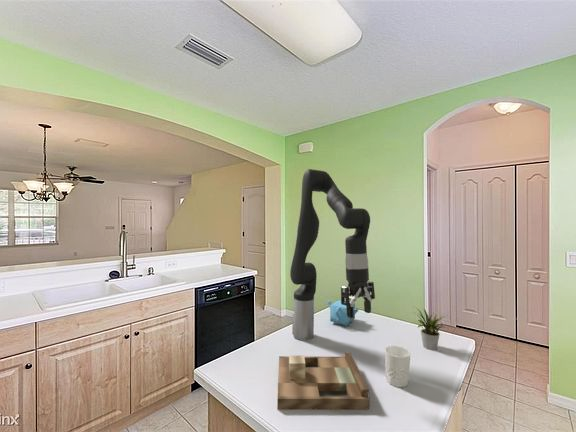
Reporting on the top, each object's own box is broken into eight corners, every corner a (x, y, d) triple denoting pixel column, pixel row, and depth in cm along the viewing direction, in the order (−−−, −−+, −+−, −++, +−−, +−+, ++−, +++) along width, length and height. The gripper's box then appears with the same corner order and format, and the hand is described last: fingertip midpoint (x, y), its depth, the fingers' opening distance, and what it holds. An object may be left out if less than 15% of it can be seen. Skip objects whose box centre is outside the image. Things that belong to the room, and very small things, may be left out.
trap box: (277, 409, 79) (277, 391, 79) (279, 364, 103) (279, 350, 103) (369, 409, 79) (369, 391, 79) (349, 364, 103) (349, 351, 103)
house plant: (401, 344, 121) (401, 306, 121) (418, 336, 129) (419, 300, 129) (435, 357, 109) (435, 315, 109) (451, 348, 117) (452, 309, 117)
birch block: (289, 379, 89) (289, 363, 89) (289, 370, 94) (289, 355, 94) (305, 379, 89) (305, 363, 89) (304, 370, 94) (304, 355, 94)
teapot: (353, 331, 134) (353, 307, 134) (319, 323, 144) (319, 301, 144) (363, 321, 147) (363, 299, 147) (332, 314, 157) (332, 294, 157)
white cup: (408, 377, 96) (409, 348, 96) (411, 390, 88) (411, 359, 88) (384, 373, 98) (384, 344, 98) (384, 385, 91) (384, 354, 91)
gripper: (362, 264, 103) (364, 309, 102) (334, 267, 95) (336, 316, 94) (379, 265, 97) (381, 313, 96) (350, 269, 89) (353, 322, 88)
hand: (359, 315), depth 95 cm, fingers open, 8 cm apart
